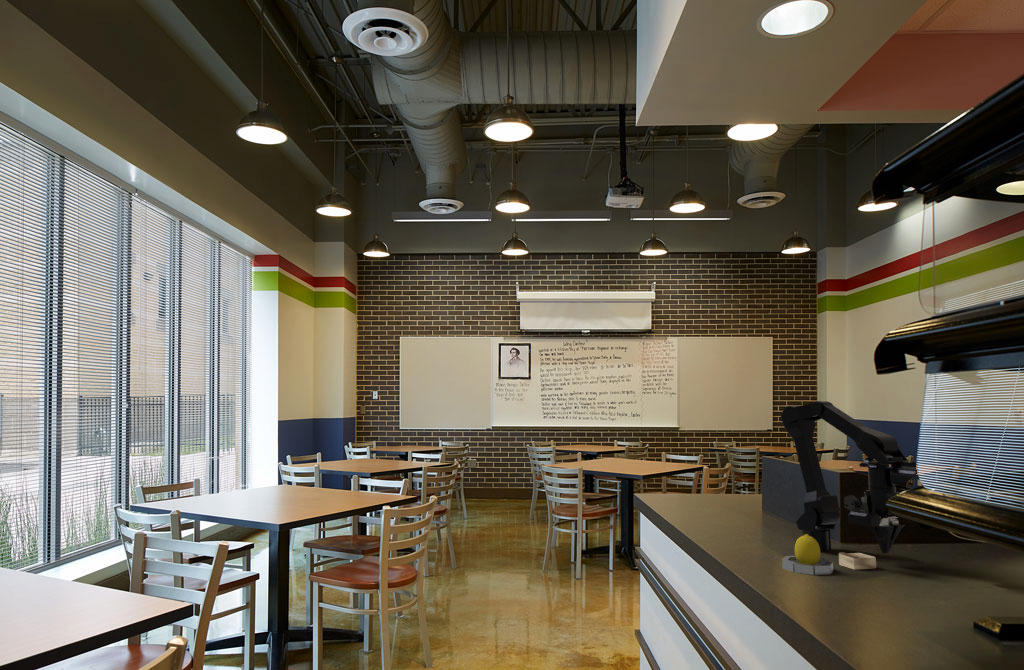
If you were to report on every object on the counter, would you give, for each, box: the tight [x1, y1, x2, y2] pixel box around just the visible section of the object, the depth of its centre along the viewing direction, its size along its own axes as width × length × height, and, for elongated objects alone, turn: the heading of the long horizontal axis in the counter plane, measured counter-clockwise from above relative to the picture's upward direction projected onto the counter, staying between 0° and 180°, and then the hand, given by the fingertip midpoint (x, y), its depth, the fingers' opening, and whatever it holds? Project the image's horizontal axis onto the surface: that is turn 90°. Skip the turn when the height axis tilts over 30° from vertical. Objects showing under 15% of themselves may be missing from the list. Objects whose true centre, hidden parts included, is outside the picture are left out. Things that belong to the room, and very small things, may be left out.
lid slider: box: [838, 551, 877, 571], centre depth 160 cm, size 6×5×3 cm
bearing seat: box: [781, 555, 834, 576], centre depth 157 cm, size 10×10×2 cm
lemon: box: [794, 534, 821, 565], centre depth 157 cm, size 6×6×8 cm
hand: (885, 553), depth 162 cm, fingers closed
